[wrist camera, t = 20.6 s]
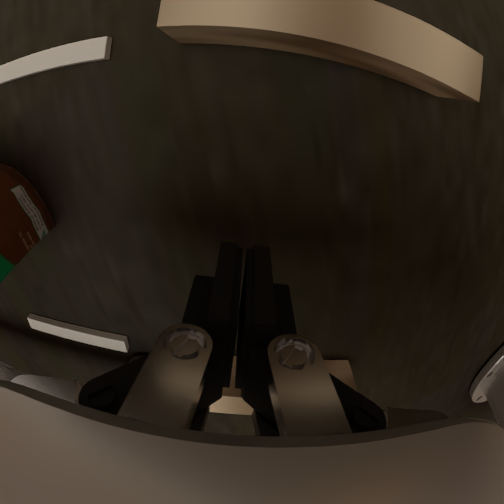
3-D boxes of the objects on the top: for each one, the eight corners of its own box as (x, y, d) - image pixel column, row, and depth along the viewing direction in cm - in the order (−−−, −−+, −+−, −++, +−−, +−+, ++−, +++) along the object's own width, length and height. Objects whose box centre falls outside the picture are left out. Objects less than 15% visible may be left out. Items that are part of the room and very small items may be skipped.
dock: (441, 58, 8) (483, 56, 6) (338, 377, 18) (346, 413, 16) (186, 0, 8) (167, -26, 5) (175, 368, 17) (168, 406, 15)
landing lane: (112, 38, 8) (107, 36, 8) (129, 346, 17) (126, 352, 16) (-7, 70, 8) (-13, 71, 7) (34, 323, 16) (31, 328, 16)
